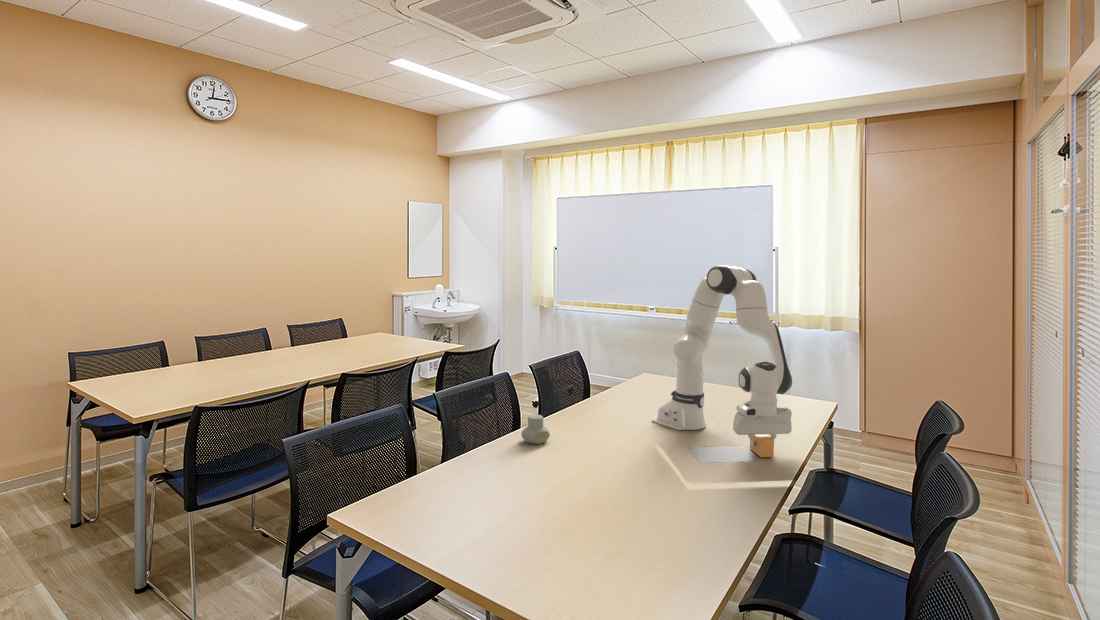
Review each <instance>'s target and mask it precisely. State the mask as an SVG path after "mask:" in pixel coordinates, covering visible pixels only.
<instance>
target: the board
mask: <svg viewBox="0 0 1100 620" xmlns="http://www.w3.org/2000/svg"><path fill="white" fill-rule="evenodd" d="M686 449H687V450H688V451H689V452H690V453H691V455H692V456H693V457H694V458H695V459H696V461H697V462H698V463H699V464H700V463H701V464H704V463H705V464H706V463H708V464H710V463H714V464H715V463H746V462H747V463H751V462H762V460H761V459H760V458H759V457H758V455H755V453H754V452H752V450H751V449H750V448H748V447H746V446H744V445H742V446H741V445H740V446H707V447H705V446H704V447H703V446H701V447H699V446H698V447H695V446H694V447H686Z"/></svg>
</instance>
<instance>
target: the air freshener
mask: <svg viewBox="0 0 1100 620" xmlns="http://www.w3.org/2000/svg"><path fill="white" fill-rule="evenodd" d="M550 436H551V432H550V429H549V428H548V427H546V426H544V416H543V415H541V414H530V415H528V417H527V426H525V427H524V428H523V429H522V431H521V437H522V439H523V440H524V441H525V442H527V443H528V444H534V445H541V444H543V443H545V442H546V441H547V440H549V439H550Z"/></svg>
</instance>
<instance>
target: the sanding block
mask: <svg viewBox="0 0 1100 620" xmlns="http://www.w3.org/2000/svg"><path fill="white" fill-rule="evenodd" d="M770 437H771V436H770V435H768V434H757V435H754V437H752V438H753V440H755V441H756V442H757V444H756V446H751V444H750V443H751V440H750V439H749V450H750V451H751V452H752V451H753V453H754V454H757V456H759V457H760V458H773V457H774V451H775V450H774V449H775V440H773V439H772V438H770Z"/></svg>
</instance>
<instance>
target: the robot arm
mask: <svg viewBox="0 0 1100 620" xmlns="http://www.w3.org/2000/svg"><path fill="white" fill-rule="evenodd" d="M726 295H729V296H733V297H734V299H735V315H736V316H735V317H736V322H737V325H738V326H739V328H740V329H742V330H743V331H744V332H745V333H747V334H749V335H752V336H754V337H758V338H759V339H761V340H762V341H764V342H765V343H766V344H767V346H768V350H769V354H770V358H771V362H770V361H757V362H755V363H754V364H753V365H752V366H744V367H743V368H742V369H741V370H740V371H739V373H738V386H739V388H741V390H743V391H744V392H745V393H750V394H751V396H750V400H748V401H745V402H742V403H740V404H737V405H736V411H737V412H736V413H735V414H734V417H733V423H732V430H733V431H734V433H735V434H737V435H739V436H746V435H747V437H748V439H749V441H750V440H751V443H750V442H749V445H750V444H751V446H756V444H757V442H756V441H755V440H753V438H752V437H754V435H757V434H766V435H769V437H770V438H772V439H773V440H774V441H775V440H776V438H777V435H790V434H791V432H792V428H793V427H792V414H793V413H792V412H793V411H792V410H791V409H789V408H788V407H778V398H777V395H784V394H786V393H787V392H788V391H790V389H791V388H792V385H793V377H792V374H791V371H790V369H789V366H788V362H787V358H786V353H785V350H784V349H785V348H784V345H783V340H782V336H781V333H780V331H779V328H778V326H777V325H776V323H774V322H772V319H771V318H770V316H769V313H768V303H767V302H768V301H767V296H766V291H765V288H764V285H763V284H762V283H761V282H759V281H758V280H757V276H756V275H755V274H754V273H753V272H752V271H751V270H749V269H747V268H743V267H739V266H734V265H732V266H731V265H725V264H724V265H723V264H721V265H715V266H713V267H710V269H709V270H708V271H707V274H706V276H705V277H704V278H702V279H701V281H700V282H699V284H698V286H697V288H696V290H695V292H694V295H693V297H692V300H691V304H690V306H689V310H688V312H687V316H686V322H685V326H684V332H683V335H682V336H681V337H680V338H678V339H677V340H676V342H675V343H674V346H673V355H674V362H675V364H674V365H675V370H676V372H675V373H676V382H675V383H676V384H675V385H676V387H675V389H674V390H673V391H672V392H670V396H672V397H671V398H670V399H669V400H667V401H666V402H664V403H663V404H661V405H660V406H659V408H658V411H657V414H655V415H654V416H652V419H651V422H653V423H655V424H659V425H661V426H664V427H667V428H671V429H674V430H677V431H685V430H686V431H687V430H689V431H694V430H695V431H696V430H702V429H704V428H706V427H707V424H706V420H705V414H704V406H705V393H704V382H705V381H704V378H705V374H704V368H703V355H704V354H705V353H706V352H707V350H708V346H709V344H710V340H711V336H712V333H713V332H712V331H713V327H714V324H715V321H716V320H717V319H716V318H717V316H718V313H719V310H720V307H721V303H722V300H723V299H724V297H725V296H726Z"/></svg>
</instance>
